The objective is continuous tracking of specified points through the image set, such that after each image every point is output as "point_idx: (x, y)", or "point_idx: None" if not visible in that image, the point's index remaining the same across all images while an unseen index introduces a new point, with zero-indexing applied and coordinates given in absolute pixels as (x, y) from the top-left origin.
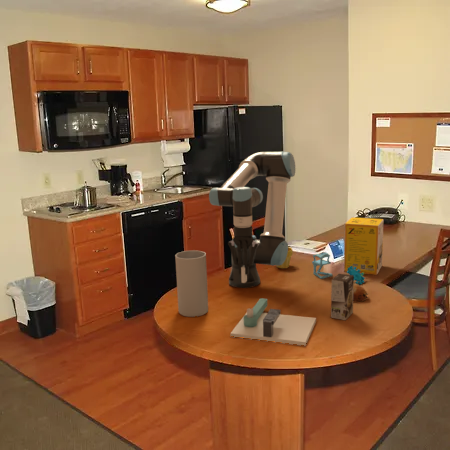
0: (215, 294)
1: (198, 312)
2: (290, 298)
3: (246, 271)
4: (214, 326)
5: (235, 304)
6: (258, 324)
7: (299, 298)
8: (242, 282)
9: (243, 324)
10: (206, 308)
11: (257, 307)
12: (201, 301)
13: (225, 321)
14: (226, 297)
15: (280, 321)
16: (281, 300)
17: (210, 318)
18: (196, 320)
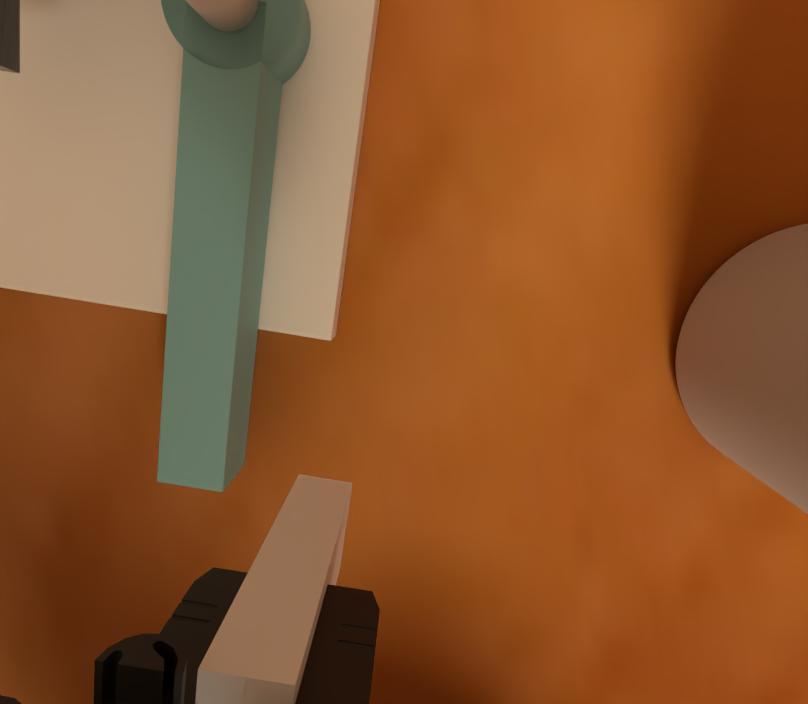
0: (649, 698)
1: (764, 245)
2: (77, 656)
3: (207, 616)
4: (576, 54)
5: (465, 522)
6: None
7: (14, 659)
8: (337, 482)
9: (316, 35)
10: (700, 326)
11: (204, 262)
12: (804, 275)
13: (496, 174)
14: (555, 647)
15: (18, 141)
16: (133, 617)
17: (632, 224)
18: (749, 167)
